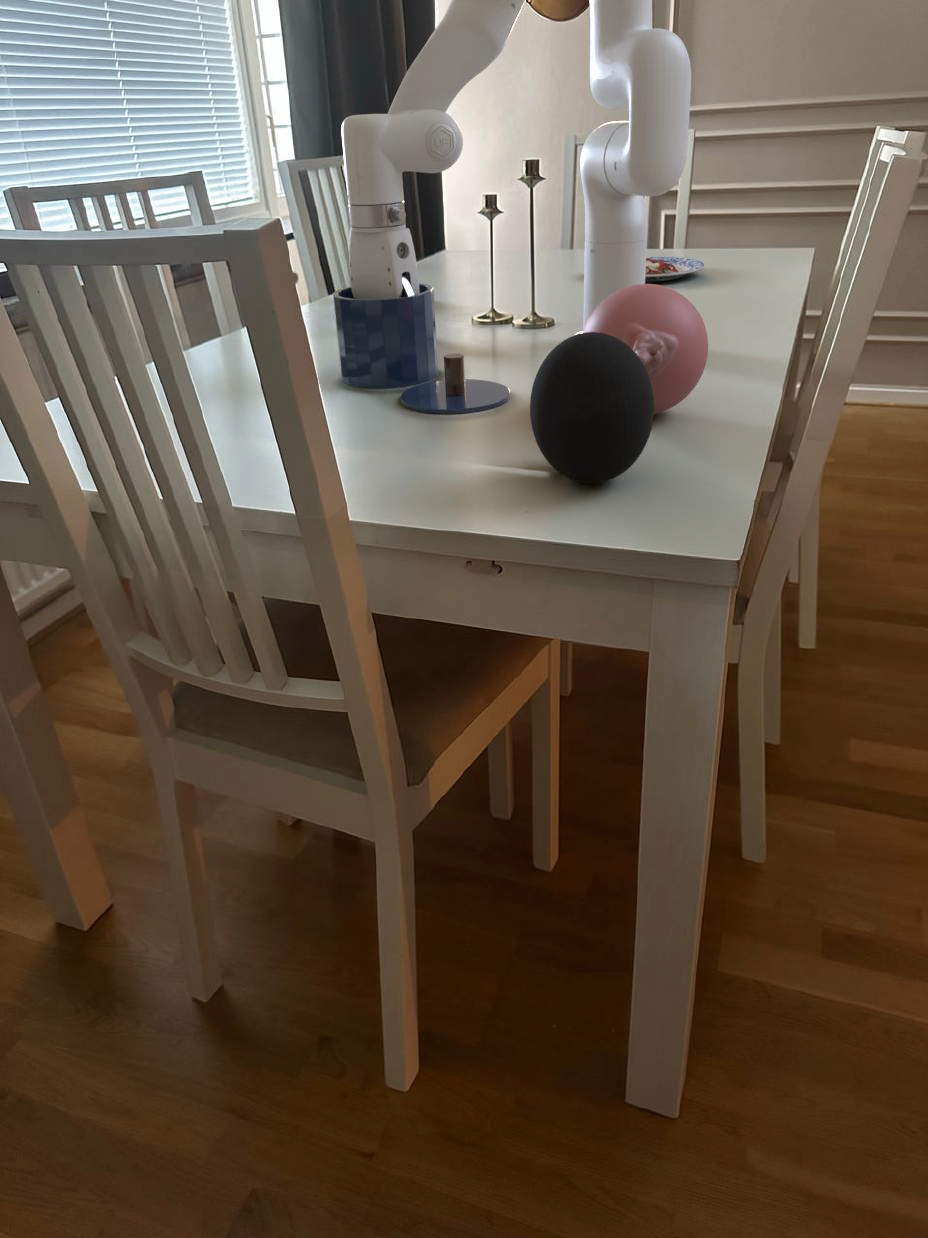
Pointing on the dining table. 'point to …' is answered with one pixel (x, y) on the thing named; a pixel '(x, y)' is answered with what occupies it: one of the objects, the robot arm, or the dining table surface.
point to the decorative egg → (592, 407)
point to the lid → (455, 392)
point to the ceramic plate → (670, 268)
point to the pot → (386, 339)
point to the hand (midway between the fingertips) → (388, 353)
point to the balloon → (657, 337)
